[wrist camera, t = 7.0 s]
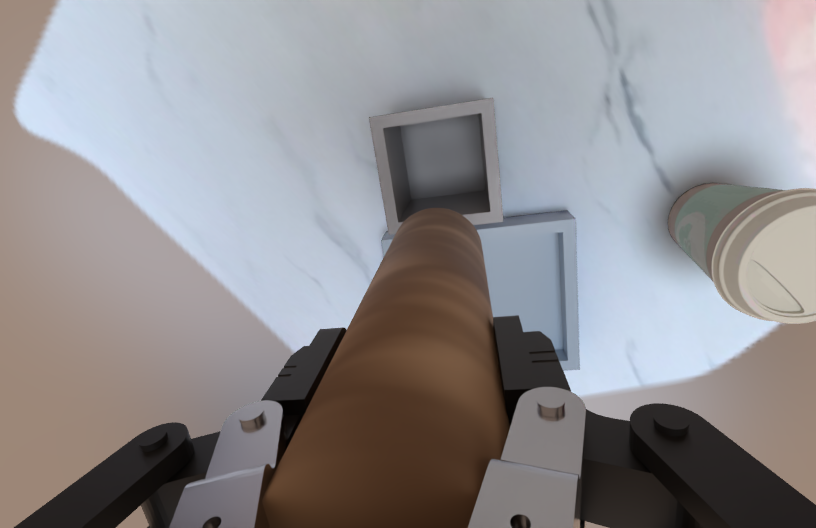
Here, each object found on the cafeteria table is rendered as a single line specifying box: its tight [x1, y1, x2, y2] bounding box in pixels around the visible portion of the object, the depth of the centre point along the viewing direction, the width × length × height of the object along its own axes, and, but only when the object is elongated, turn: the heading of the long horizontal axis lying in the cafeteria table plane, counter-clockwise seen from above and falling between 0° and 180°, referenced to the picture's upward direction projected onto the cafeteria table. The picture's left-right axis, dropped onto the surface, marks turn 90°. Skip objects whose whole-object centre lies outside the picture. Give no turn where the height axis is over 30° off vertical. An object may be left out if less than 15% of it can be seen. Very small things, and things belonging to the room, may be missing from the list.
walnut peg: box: [262, 208, 510, 528], centre depth 14 cm, size 4×4×16 cm
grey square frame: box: [369, 98, 503, 235], centre depth 34 cm, size 8×8×9 cm
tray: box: [381, 210, 580, 371], centre depth 40 cm, size 16×14×3 cm
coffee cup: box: [668, 183, 816, 324], centre depth 32 cm, size 9×8×12 cm
